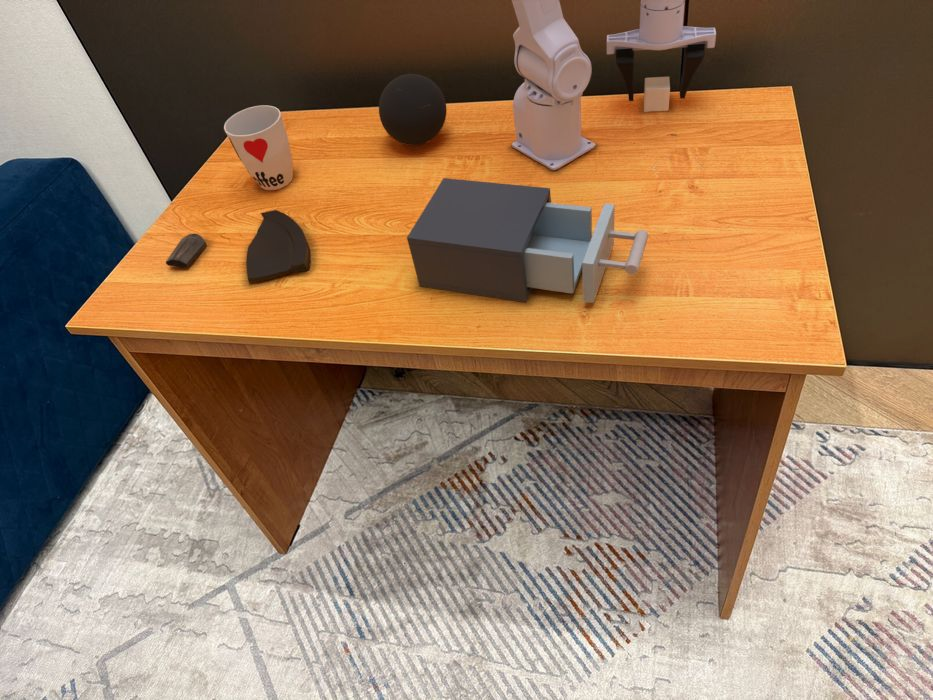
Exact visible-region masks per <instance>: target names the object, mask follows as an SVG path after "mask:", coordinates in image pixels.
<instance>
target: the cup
mask: <svg viewBox="0 0 933 700" xmlns="http://www.w3.org/2000/svg"><path fill="white" fill-rule="evenodd" d="M223 131H224V132H225V134H226V136H227V138H228V140H229V142H230V144H231V147H233V149H234V152H235V154H236V156H237V157H238V158H239V161H240V162H241V163H242V165H243V167H244V168H245V169H246V171H247V172H248V174H249V176H250V177H252V179H254V181H255V182H256V183H257V184H258V185H259V187H260V188H261V189H262V190H265V191H277V190H281V189H282V188H284V187H286V186H288V185H289V184H291V182H292V181H293V179H294V173H293V172H294V171H293V169H294V168H293V166H294V165H293V156H292V152H291V145H290V141H289V136H288V133H287V129H286V126H285V123H284V120H283V117H282V113H281V111H280V109H279V108H277V107H276V106H273V105H266V104H265V105H264V104H262V105H255V106H251V107H247V108H245V109H242V110H240V111H237V112H236V113H234V114H233V115H231V116H230V117H229V118H228V119H227V120H226V121H225V122H224V125H223Z"/></svg>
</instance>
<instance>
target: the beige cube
mask: <svg viewBox="0 0 933 700" xmlns="http://www.w3.org/2000/svg"><path fill="white" fill-rule="evenodd" d="M670 81H671V80H670V76H655V77H645V78H644V85H643V87H644V88H643V112H644V113H646V112H647V113H649V112H668V111H669V108H670V96H671V95H670V94H671V82H670Z"/></svg>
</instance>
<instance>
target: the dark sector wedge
mask: <svg viewBox="0 0 933 700" xmlns="http://www.w3.org/2000/svg"><path fill="white" fill-rule="evenodd" d="M259 215H261V217H262V218H263V219H262V222H261V223H260V225H259V226H258V228H257V230H256V234H255V236H254V237H253V238H252V240H251V242H250V243H249V245H248V246H247V252H246V260H245V263H246V264H245V265H246V274H247V276H246V277H247V282H248V283H250V284H252V283H256V282H257V283H258V282H262V281H263V282H264V281H268V280H273V279H276V278H280V277H283V276H286V275H291V274H294V273H300V272H307V271H309V270H310V268H311V263H312V262H311V258H312V257H311V249H310V245H309V242H308V241H307V238H306V235H305V233H304V230H303V229H302V227H301V226H300V225H299V224H298V223H297V222H296V221H295V220H294V219H293V218H292V217H290V216H289V215H287V214H286V213H284V212H282V211H280V210H278V209H273V210H268V211H263V212H261V213H259Z"/></svg>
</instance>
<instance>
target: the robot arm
mask: <svg viewBox="0 0 933 700" xmlns="http://www.w3.org/2000/svg"><path fill="white" fill-rule="evenodd" d="M511 3H512V6H513V10H514V13H515V16H516V19H517V20H516V21H517V23H518V27H517V28H516V30H515V31H514V33H513V34H512V39H513V42H514V46H515V47H514V49H515V50H514V58H513V60H514V61H513V62H514V67H515V70H516V72H517V73H518V75H519V76H521V77H522V78H524V82H522V84H521V85H519V87H518V88H517V90H516V92H515V93H514V97H513V100H512V112H513V122H514V131H515V141H514V142H512V143H511V147H512V148H513V149H515V150H517V151H518V152H520V153H522V154H524V155H526V156H527V157H529V158H531V159H532V160H534V161H535V162H538V163H539V164H541V165H543V166H545V167H546V168H548V169H549V170H552V171H556V170H557V171H558V170H559V169H560V168H562V167H564V166H566V165H567V164H568V163H570V162H572V161H574V160H576V159H577V158H579V157H581V156H583V155H584V154H586V153H588V152H589V151H591V150H593V149H595V147H596V143H595V142H593V141H592V140H589V139H587V138H585V137H583V134H582V132H583V131H582V96H583V94H584V93H583V92H584V91H585V90H586V89H587V87H588V85H589V83H590V81H591V77H592V73H593V71H592V70H593V68H592V61H591V60H590V59H591V58H589V57H588V55H587V54H586V53H585V52H584V51H583V50H582V48H581V45H580V41H579V38H578V37H577V35H576V34H575V32H574V31H573V29H572V28H571V27H570V25H569V23H568V22H567V21H566V20H565V18H564V15H563V10H562V6H561V2H560V0H511ZM685 3H686V0H640V6H639V9H640V10H639V12H640V13H639V28H637V29H633V30H628V31H624V32H619V33H614V34H613V33H612V34H607V35H606V55H614V54H615V63H616V67H617V68H618V70H619V72H620V74H621V75H622V78H623V81H624V83H625V87H626V90H627V96H628V102H634V99H635V84H634V64H635V63H634V62H635V61H634V59H635V51H646V50H647V51H666V50H671V49H680V48H683V58H682V59H683V60H682V71H681V76H680V82H679V99H680V100H681V99H683V100H684V99H686V96H687V95H686V94H687V92H688V89H689V86H690V83H691V81H692V79H693V77H694V76H695V73H696V72H697V70H698V69H699V67H700V65H702V63H703V61H704V58H705V55H706V51H705V48H706V49H714V48H715V46H716V40H717V31H716V30H717V29H716V27H698V26H688V25H684V15H685V14H684V13H685Z"/></svg>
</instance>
